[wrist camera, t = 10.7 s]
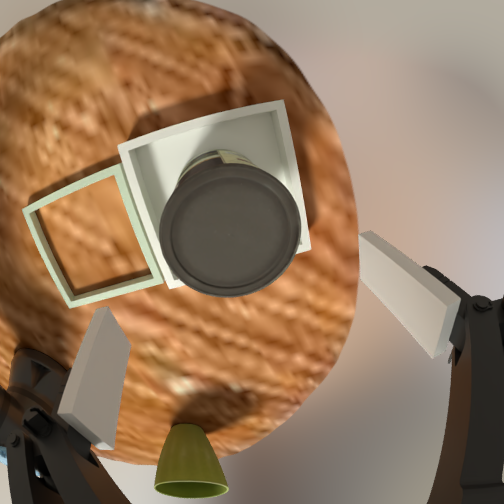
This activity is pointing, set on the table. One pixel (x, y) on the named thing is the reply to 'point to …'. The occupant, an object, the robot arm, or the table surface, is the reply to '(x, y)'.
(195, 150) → the bin
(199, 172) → the coffee can
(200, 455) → the flower pot
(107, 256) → the table surface
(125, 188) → the frame
